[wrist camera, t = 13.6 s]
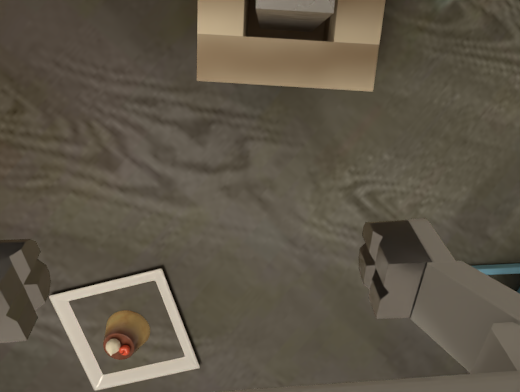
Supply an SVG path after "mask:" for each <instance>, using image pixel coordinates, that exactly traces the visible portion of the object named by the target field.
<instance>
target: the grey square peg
mask: <svg viewBox="0 0 520 392" xmlns="http://www.w3.org/2000/svg"><path fill="white" fill-rule="evenodd" d="M334 4H335V0H256V12H257V16H258V21H259V25H260V29H269V30H286V31H302V32H312V31H313V30H314V29H315V28H316V27H318V26H319V25H320V24H321V23H322V22H324V21H325V20H326V19H327V18H328V17H330V16H331V15H332V14H333V13H334Z"/></svg>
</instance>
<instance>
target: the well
mask: <svg viewBox="0 0 520 392" xmlns="http://www.w3.org/2000/svg"><path fill="white" fill-rule="evenodd" d="M384 7H385V0H335V4H334V13H333V14H332V15H331V16H330V17H328V18H327V19H326V20H325V21H324V22H322V23H321V24H320V25H319V26H318V27H316V28H315V29H314V30H313V31H312V32H302V31H286V30H269V29H260V25H259V21H258V16H257V12H256V0H198V27H197V81H209V82H225V83H241V84H258V85H274V86H290V87H307V88H323V89H339V90H356V91H372V92H373V87H374V80H375V72H376V65H377V58H378V51H379V43H380V36H381V29H382V21H383V14H384Z"/></svg>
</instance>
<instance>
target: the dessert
mask: <svg viewBox="0 0 520 392" xmlns="http://www.w3.org/2000/svg"><path fill="white" fill-rule="evenodd" d="M153 280H154V281H156V283H157V286H158V288H159V291H160V293H161V296H162V298H163V301H164V303H165V306H166V309H167V311H168V314H169V316H170V319H171V321H172V324H173V326H174V329H175V331H176V334H177V336H178V339H179V342H180V344H181V347H182V349H183V352H184V354H185V357H183V358H178V359H174V360H169V361H165V362H160V363H156V364H151V365H147V366H142V367H138V368H133V369H129V370H124V371H120V372H115V373H111V374H106V375H103V374H102V372H101V370H100V368H99V365H98V363H97V361H96V359H95V357H94V355H93V353H92V351H91V349H90V346H89V344H88V342H87V340H86V338H85V336H84V334H83V332H82V330H81V327H80V325H79V323H78V321H77V319H76V317H75V315H74V313H73V311H72V308H71V306H70V304H69V301H70V300H75V299H79V298H83V297H87V296H91V295H95V294H99V293H104V292H108V291H112V290H116V289H120V288H124V287H128V286H132V285H137V284H141V283H145V282H149V281H153ZM49 298H50V300H51V302H52V304H53V306H54V308H55V310H56V313H57V315H58V317H59V319H60V321H61V323H62V325H63V327H64V329H65V331H66V333H67V335H68V337H69V339H70V341H71V343H72V345H73V348H74V350H75V352H76V354H77V356H78V358H79V360H80V362H81V364H82V366H83V368H84V370H85V372H86V374H87V376H88V378H89V380H90V382H91V385H92V387H93V389H94V390H95V391H96V390H101V389H106V388H110V387H115V386H119V385H124V384H129V383H133V382H138V381H142V380H147V379H152V378H156V377H161V376H165V375H170V374H175V373H179V372H184V371H189V370H193V369H198V368H200V366H199V363H198V361H197V358H196V356H195V353H194V350H193V348H192V345H191V343H190V340H189V337H188V335H187V332H186V330H185V327H184V324H183V322H182V319H181V317H180V314H179V312H178V309H177V306H176V304H175V301H174V299H173V296H172V293H171V291H170V288H169V286H168V283H167V280H166V278H165V275H164V273H163V270H162V269H156V270H152V271H148V272H144V273H140V274H136V275H132V276H128V277H124V278H120V279H115V280H111V281H107V282H103V283H99V284H95V285H91V286H87V287H83V288H79V289H75V290H71V291H67V292H63V293H59V294H54V295H50V296H49ZM149 335H150V328H149V325H148V323H147V321H146V320H145V319H144V318H143V317H142V316H141V315H139V314H138V313H135V312H132V311H119V312H116V313H114V314H113V315H112V316H111V317H110V318H109V319H108V321H107V325H106V332H105V337H104V343H103V346H104V350H105V352H106V353H107V354H108V355H109V356H110V357H112V358H114V359H119V360H122V359H127V358H129V357H130V356H131V355H132V354H134V353H135V352H136V351H137V350H138V349H139V348H140V347H141V346H142V345H143V344H144V343H145V342H146V341H147V340H148V338H149Z"/></svg>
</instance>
